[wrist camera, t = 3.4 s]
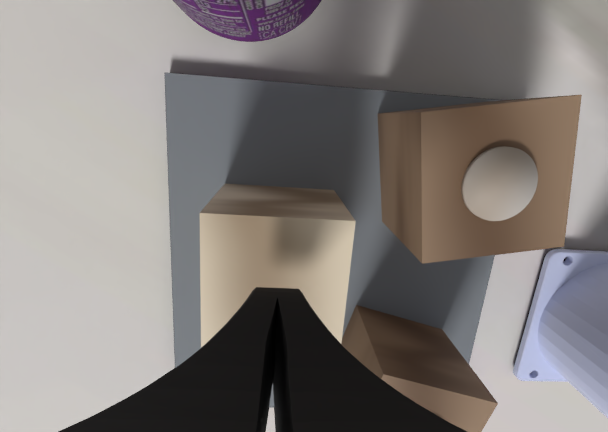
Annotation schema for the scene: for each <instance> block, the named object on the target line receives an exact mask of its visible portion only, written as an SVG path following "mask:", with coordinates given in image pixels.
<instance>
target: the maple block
mask: <svg viewBox="0 0 608 432" xmlns="http://www.w3.org/2000/svg"><path fill="white" fill-rule="evenodd" d="M355 223H356V221H355V219H354V218H353V216H352V215H351V214H350V212H349V211H348V209H347V208H346V206H345V205H344V204H343V202H342V201H341V199H340V198H339V196H338V195H337V194H336V192H335V191H334V190H327V189H310V188H293V187H276V186H259V185H242V184H224V185H223V186H222V187H221V189H220V190H219V191H218V192H217V193H216V194H215V196H214V197H213V198H212V199H211V200H210V201H209V203H208V204H207V205H206V206H205V207H204V208H203V210H202V211H201V212H200V296H201V347H203V346H204V345H205V344H206V343H207V342H208V341H209V340H210V339H211V338H212V337H213V336H214V335H215V334H216V333H217V332H218V331H219V330H220V329H221V328H222V327H223V326H224V325H225V324H226V323H227V322H228V321H229V320H230V319H231V318H232V316H233V315H234V314H235V313H236V312H237V311H238V310H239V308H240V307H241V306H242V305H243V303H244V302H245V301H246V299H247V298H248V297H249V295H250V294H251V292H252V291H253V290H254V289H255V288H256V287H267V288H293V289H300V291H301V292H302V293H303V295H304V296H305V298H306V300H307V301H308V303H309V304H310V306H311V307H312V309H313V310H314V312H315V313H316V314H317V316H318V317H319V318H320V320H321V321H322V322H323V324H324V325H325V326H326V327H327V329H328V330H329V331H330V332H331V333H332V335H333V336H334V337H335V338H336V339H337V340H338V341H339V342H340V343H342V334H343V326H344V317H345V309H346V300H347V292H348V283H349V275H350V266H351V257H352V249H353V240H354V232H355Z"/></svg>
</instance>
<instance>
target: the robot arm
mask: <svg viewBox="0 0 608 432" xmlns="http://www.w3.org/2000/svg"><path fill="white" fill-rule="evenodd" d="M566 257H567V259H566V260H565V261H564V262H563V260H564V258H566ZM530 372H531V373H530ZM513 373H514V375H515V376H516V377H517V378H518V379H519V380H521V381H565V382H569V383H570V384H571V385H572V386H573V387H575V388H576V389H577V390H578V391H579V392H580V393H581V394H582V395H583V396H584V397H585V398H586V399H587V400H589V401H590V402H591V403H592V404H593V405H594V406H595V407H596V408H597V409H598V410H599V411H600V412H601V413H603V414H604V415H605V416H606V417H607V418H608V251H589V250H568V249H553V250H551V251H549V252H548V253H547V254H546V256H545V259H544V262H543V266H542V269H541V273H540V276H539V280H538V284H537V287H536V291H535V294H534V298H533V301H532V305H531V308H530V312H529V316H528V319H527V323H526V326H525V330H524V333H523V337H522V341H521V344H520V348H519V351H518V355H517V358H516V362H515V366H514V369H513ZM272 384H273V394H274V411H275V428H276V432H467V431H465V430H463V429H461V428H459V427H457V426H455V425H453V424H451V423H449V422H448V421H446V420H444V419H442V418H441V417H439V416H437V415H435V414H434V413H432V412H430V411H429V410H427V409H425V408H424V407H422V406H420V405H419V404H417V403H415V402H414V401H412V400H411V399H409V398H408V397H406V396H405V395H403V394H402V393H400V392H399V391H397V390H396V389H394V388H393V387H392V386H390V385H389V384H387V383H386V382H385V381H383V380H382V379H381V378H379V377H378V376H377V375H375V374H374V373H373V372H372V371H370V370H369V369H368V368H367V367H365V366H364V365H363V364H362V363H361V362H360V361H359V360H357V359H356V358H355V357H354V356H353V355H352V354H351V353H350V352H349V351H347V350H346V349H345V348H344V347H343V346H342V344H341V343H340V342H339V341H338V340H337V339H336V338H335V337H334V336H333V335H332V333H331V332H330V331H329V330H328V329H327V327H326V326H325V325H324V324H323V322H322V321H321V320H320V318H319V317H318V316H317V314H316V313H315V312H314V310H313V309H312V307H311V306H310V304H309V303H308V301H307V300H306V298H305V296H304V295H303V293H302V292H301V291H300V289H293V288H267V287H256V288H255V289H254V290H253V291H252V292H251V294H250V295H249V297H248V298H247V299H246V301H245V302H244V303H243V305H242V306H241V307H240V308H239V310H238V311H237V312H236V313H235V314H234V315H233V316H232V318H231V319H230V320H229V321H228V322H227V323H226V324H225V325H224V326H223V327H222V328H221V329H220V330H219V331H218V332H217V333H216V334H215V335H214V336H213V337H212V338H211V339H210V340H209V341H208V342H207V343H206V344H205V345H204V346H203V347H201V348H200V349H199V350H198V351H197V352H196V353H194V354H193V355H192V356H191V357H189V358H188V359H187V360H186V361H184V362H183V363H182V364H180V365H179V366H177V367H176V368H174V369H173V370H171V371H170V372H168V373H167V374H165V375H164V376H162V377H161V378H159V379H158V380H156V381H155V382H153V383H152V384H150V385H149V386H147V387H145V388H144V389H142V390H140V391H138V392H137V393H135V394H133V395H131V396H130V397H128V398H126V399H124V400H122V401H121V402H119V403H117V404H115V405H113V406H111V407H109V408H107V409H105V410H104V411H102V412H100V413H98V414H96V415H94V416H92V417H90V418H88V419H85V420H83V421H81V422H79V423H77V424H74V425H72V426H70V427H68V428H66V429H63V430H61V431H59V432H265V431H266V424H267V418H268V411H269V404H270V397H271V390H272Z"/></svg>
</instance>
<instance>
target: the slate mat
mask: <svg viewBox="0 0 608 432" xmlns="http://www.w3.org/2000/svg"><path fill="white" fill-rule="evenodd" d="M165 100H166V128H167V157H168V185H169V213H170V241H171V269H172V297H173V326H174V354H175V368H176V367H177V366H179V365H180V364H182V363H183V362H184V361H186V360H187V359H188V358H189V357H191V356H192V355H193V354H194V353H196V352H197V351H198V350H199V349H200V348H201V296H200V212H201V211H202V210H203V208H204V207H205V206H206V205H207V204H208V203H209V201H210V200H211V199H212V198H213V197H214V196H215V194H216V193H217V192H218V191H219V190H220V189H221V187H222V186H223V185H224V184H242V185H259V186H276V187H293V188H310V189H327V190H334V191H335V192H336V194H337V195H338V196H339V198H340V199H341V201H342V202H343V204H344V205H345V206H346V208H347V209H348V211H349V212H350V214H351V215H352V216H353V218H354V219H355V221H356V223H355V232H354V240H353V249H352V257H351V266H350V275H349V283H348V292H347V300H346V309H345V317H344V326H343V334H342V337H343V335H344V332H345V330H346V328H347V325H348V323H349V321H350V318H351V316H352V314H353V311H354V309H355V307H356V305H358V306H362V307H366V308H369V309H373V310H376V311H380V312H383V313H387V314H390V315H394V316H397V317H401V318H404V319H408V320H411V321H415V322H418V323H422V324H425V325H429V326H432V327H436V328H439V329H442V330H443V331H444V332H445V334H446V335H447V336H448V338H449V339H450V340H451V342H452V343H453V344H454V346H455V347H456V348H457V350H458V351H459V352H460V354H461V355H462V356H463V358H464V359H465V360H466V362H467V363H468V364H469V361H470V357H471V353H472V348H473V344H474V340H475V336H476V332H477V327H478V323H479V319H480V315H481V311H482V306H483V302H484V298H485V294H486V290H487V285H488V281H489V277H490V273H491V268H492V264H493V260H494V256H495V255H490V256H482V257H473V258H465V259H457V260H449V261H440V262H432V263H424V264H422V263H421V262H420V261H419V260H418V259H417V258H416V257H415V256H414V255H413V253H412V252H411V251H410V250H409V249H408V248H407V247H406V246H405V245H404V244H403V243H402V242H401V241H400V240H399V239H398V238H397V237H396V236H395V235H394V233H393V232H392V231H391V230H390V229H389V228H388V227H387V226H386V225H385V224H384V223H383V222H382V210H381V186H380V162H379V138H378V113H387V112H396V111H405V110H415V109H424V108H433V107H442V106H452V105H461V104H470V103H479V102H489V101H502V100H494V99H482V98H470V97H458V96H445V95H433V94H421V93H409V92H397V91H384V90H372V89H360V88H348V87H335V86H323V85H311V84H299V83H287V82H274V81H262V80H250V79H238V78H225V77H213V76H201V75H189V74H177V73H165ZM269 407H274V394H273V384H272V390H271V397H270V404H269Z"/></svg>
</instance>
